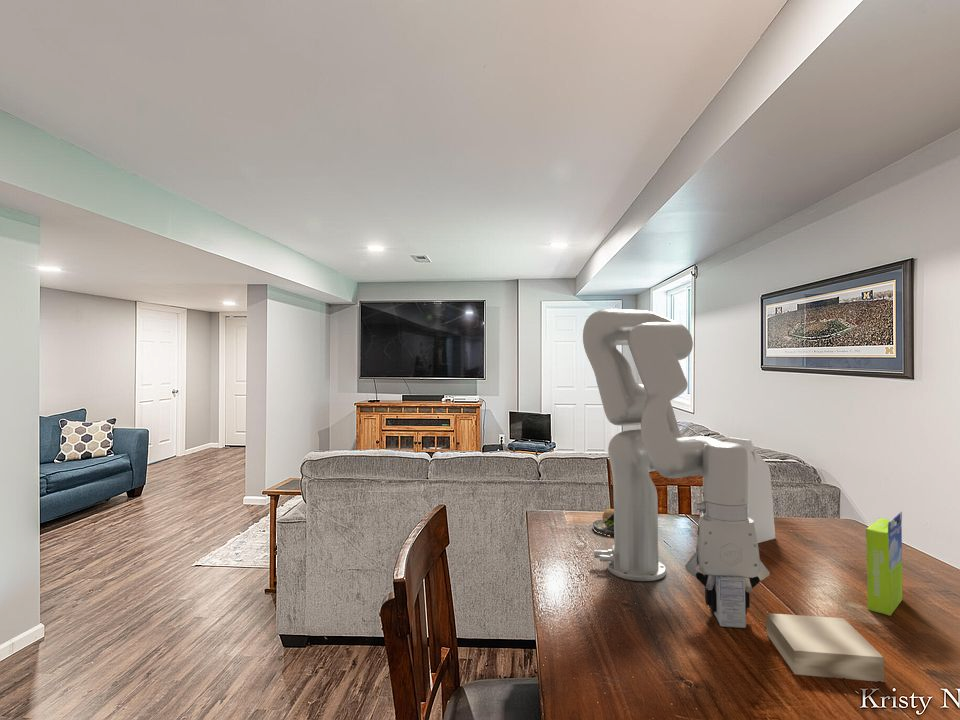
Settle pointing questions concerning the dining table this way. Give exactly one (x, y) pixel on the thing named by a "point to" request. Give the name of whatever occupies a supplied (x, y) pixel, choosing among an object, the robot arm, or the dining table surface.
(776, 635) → the maple block
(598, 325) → the robot arm
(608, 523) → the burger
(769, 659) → the dining table surface
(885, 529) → the box
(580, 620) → the dining table surface
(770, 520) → the milk
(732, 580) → the medicine box
